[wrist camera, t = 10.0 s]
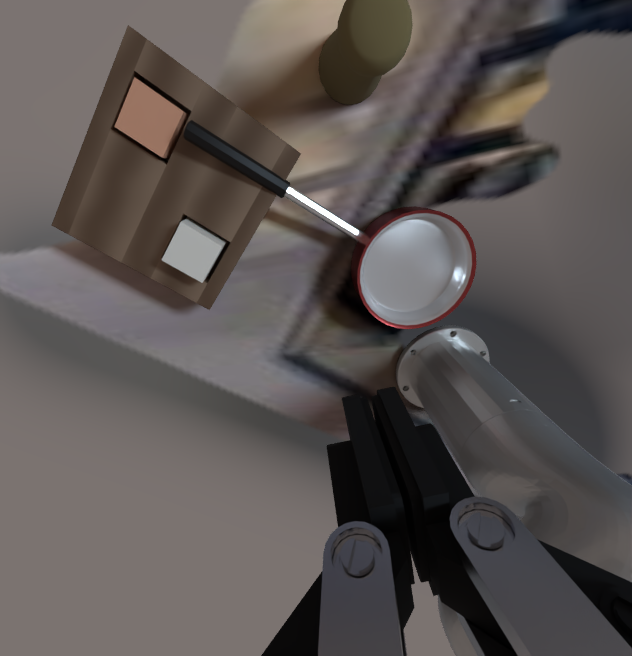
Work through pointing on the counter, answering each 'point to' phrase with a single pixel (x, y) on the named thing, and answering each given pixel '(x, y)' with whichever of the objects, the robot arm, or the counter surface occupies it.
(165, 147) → the terracotta key
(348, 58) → the olive brown rounded cylinder
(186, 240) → the cream key
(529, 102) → the counter surface
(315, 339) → the counter surface
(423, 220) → the frying pan
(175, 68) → the brown wooden flat board
